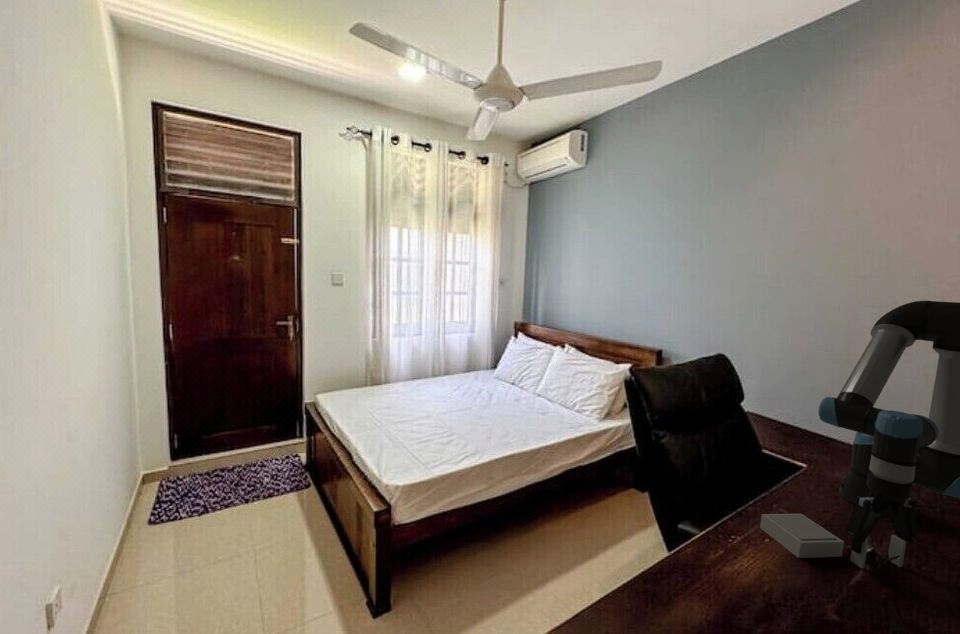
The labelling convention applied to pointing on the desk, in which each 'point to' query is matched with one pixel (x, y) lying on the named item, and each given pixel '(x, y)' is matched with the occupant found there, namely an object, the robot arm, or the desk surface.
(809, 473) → the desk surface
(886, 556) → the eagle figurine
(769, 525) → the tray
